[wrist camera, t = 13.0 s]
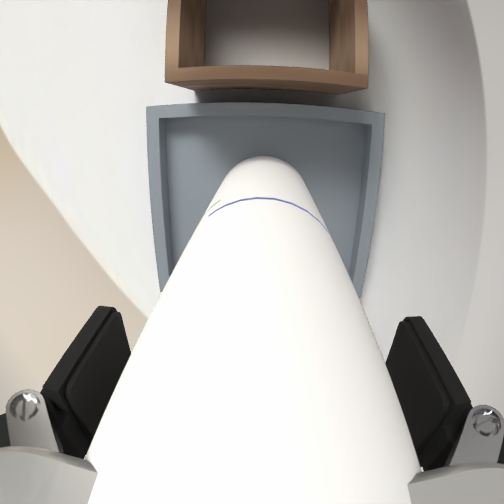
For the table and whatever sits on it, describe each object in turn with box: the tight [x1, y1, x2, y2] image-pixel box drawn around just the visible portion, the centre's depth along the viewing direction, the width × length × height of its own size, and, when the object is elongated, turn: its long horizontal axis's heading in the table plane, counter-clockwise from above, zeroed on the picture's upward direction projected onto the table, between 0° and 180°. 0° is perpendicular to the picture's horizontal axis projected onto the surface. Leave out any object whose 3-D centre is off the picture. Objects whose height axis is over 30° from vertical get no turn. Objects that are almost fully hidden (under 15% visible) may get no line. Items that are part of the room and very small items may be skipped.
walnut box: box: [165, 0, 369, 95], centre depth 17 cm, size 12×12×8 cm
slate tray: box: [146, 102, 385, 298], centre depth 26 cm, size 16×18×2 cm
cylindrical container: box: [85, 156, 422, 504], centre depth 15 cm, size 7×7×25 cm
